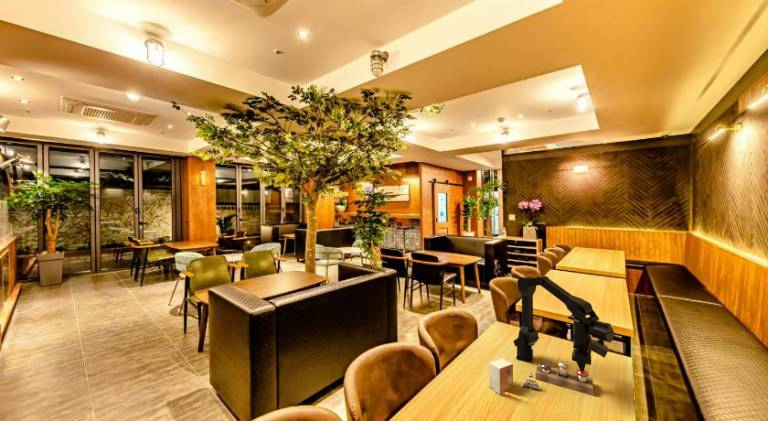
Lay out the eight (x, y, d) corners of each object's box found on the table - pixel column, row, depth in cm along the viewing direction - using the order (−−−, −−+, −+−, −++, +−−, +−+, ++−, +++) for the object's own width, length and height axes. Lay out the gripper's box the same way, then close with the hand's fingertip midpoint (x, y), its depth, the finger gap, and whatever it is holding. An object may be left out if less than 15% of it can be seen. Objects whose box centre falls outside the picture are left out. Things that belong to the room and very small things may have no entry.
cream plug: (557, 377, 124) (557, 364, 123) (558, 373, 127) (558, 360, 127) (568, 380, 121) (568, 366, 121) (569, 376, 125) (569, 362, 124)
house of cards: (545, 386, 124) (545, 368, 124) (546, 398, 116) (545, 378, 116) (521, 380, 128) (521, 363, 128) (520, 392, 120) (520, 373, 120)
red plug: (576, 386, 120) (576, 372, 120) (576, 381, 123) (576, 367, 123) (588, 389, 118) (588, 375, 117) (588, 384, 121) (588, 370, 121)
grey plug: (540, 378, 127) (540, 365, 127) (541, 374, 131) (541, 361, 130) (550, 381, 125) (550, 368, 125) (551, 377, 128) (551, 364, 128)
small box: (499, 395, 118) (499, 368, 118) (488, 387, 123) (488, 362, 123) (513, 389, 121) (513, 363, 121) (502, 382, 126) (502, 357, 126)
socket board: (535, 382, 126) (535, 373, 126) (538, 372, 133) (538, 363, 133) (592, 399, 115) (592, 388, 115) (592, 387, 122) (592, 377, 122)
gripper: (607, 346, 108) (608, 389, 108) (605, 329, 123) (605, 366, 123) (571, 339, 114) (572, 379, 114) (573, 323, 130) (574, 359, 130)
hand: (582, 371), depth 120 cm, fingers closed
